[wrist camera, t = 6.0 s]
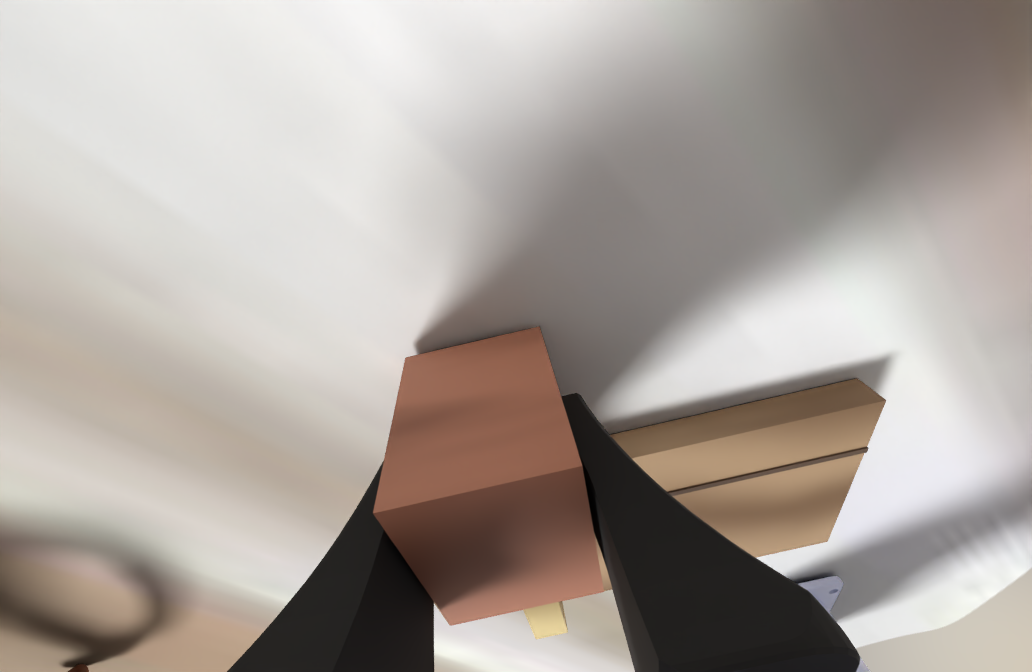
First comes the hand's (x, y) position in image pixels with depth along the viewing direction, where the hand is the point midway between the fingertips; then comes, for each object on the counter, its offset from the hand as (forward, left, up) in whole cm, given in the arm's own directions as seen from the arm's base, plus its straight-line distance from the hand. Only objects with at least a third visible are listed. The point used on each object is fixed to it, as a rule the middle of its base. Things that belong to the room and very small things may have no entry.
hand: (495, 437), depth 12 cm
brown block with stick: (-3, 0, -1) cm, 3 cm away
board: (-8, -4, -2) cm, 9 cm away
